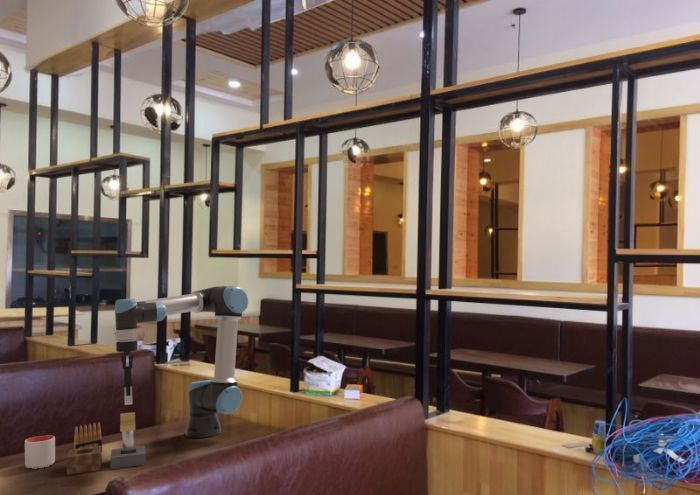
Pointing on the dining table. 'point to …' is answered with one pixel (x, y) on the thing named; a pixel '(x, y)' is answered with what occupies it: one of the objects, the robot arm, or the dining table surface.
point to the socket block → (128, 458)
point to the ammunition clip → (88, 437)
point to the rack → (84, 460)
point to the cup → (39, 451)
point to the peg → (128, 442)
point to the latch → (127, 422)
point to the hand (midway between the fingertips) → (128, 404)
